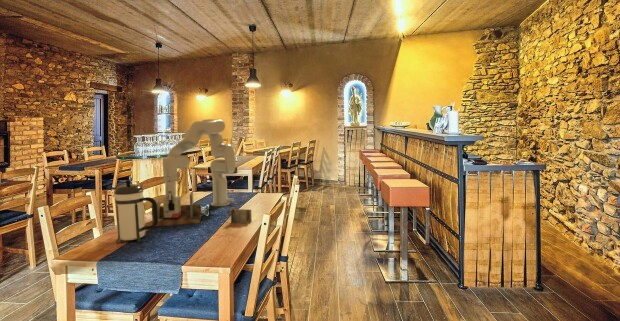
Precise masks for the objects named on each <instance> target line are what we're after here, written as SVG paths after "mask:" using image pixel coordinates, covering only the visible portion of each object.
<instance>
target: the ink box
mask: <svg viewBox="0 0 620 321" xmlns="http://www.w3.org/2000/svg"><path fill="white" fill-rule="evenodd" d="M171 198H173V197H171ZM181 205H182V204H181V196H179V195H178V196H177V195H176V197H175V198H174V208H175V210H173V211H169V210H168V198H167V199H166V197H165V196H163V197H162V206H163V209H164V218H178V217H180V216H181Z"/></svg>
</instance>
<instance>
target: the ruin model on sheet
mask: <svg viewBox="0 0 620 321" xmlns="http://www.w3.org/2000/svg"><path fill="white" fill-rule="evenodd" d="M233 222H234V223H236V224H251V223H252V209H245V208H244V209H240V208H236V207H235V206H234V207H233V206H232V207H231V206H230V223H231V224H232V223H233Z"/></svg>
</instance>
